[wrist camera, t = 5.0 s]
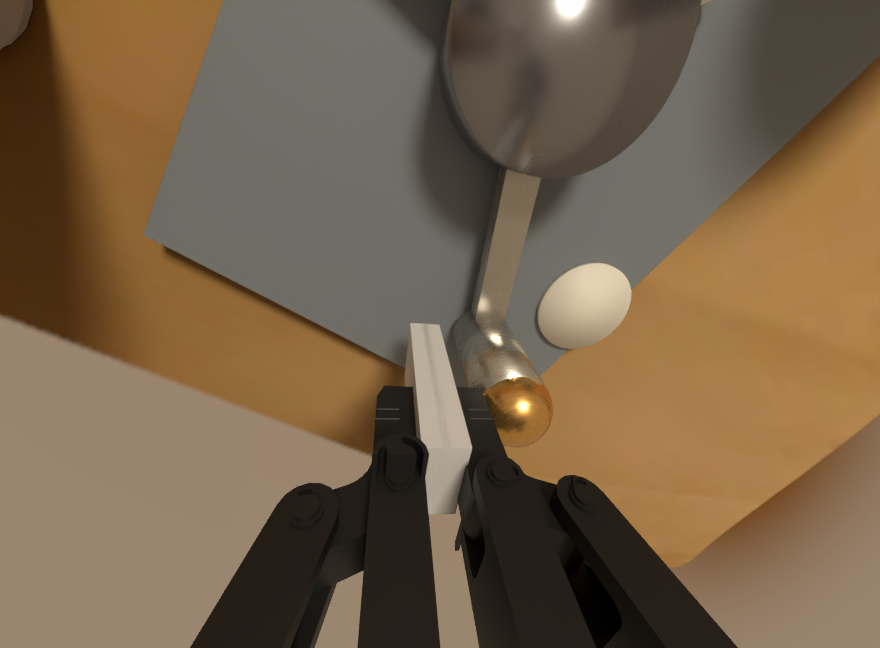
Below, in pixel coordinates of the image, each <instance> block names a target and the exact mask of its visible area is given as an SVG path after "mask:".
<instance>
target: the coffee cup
mask: <svg viewBox="0 0 880 648" xmlns="http://www.w3.org/2000/svg"><path fill="white" fill-rule="evenodd" d="M32 9H33V0H0V50H1V49H2V48H3V47H4V46H7V45H10V44H12V43H13V42H14V41H15V40H16V39H17V38H18V37H19V36H20V35H21V34H22V33H23V31H24V30H25V29H26V27H27V24H28V21H29V18H30V15H31V12H32Z"/></svg>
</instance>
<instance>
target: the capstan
mask: <svg viewBox="0 0 880 648" xmlns="http://www.w3.org/2000/svg"><path fill="white" fill-rule="evenodd" d="M709 1H711V0H450V3H449V5H448V8H447V12H446V16H445V19H444V23H443V27H442V34H441V41H440V54H439V69H440V81H441V88H442V94H443V98H444V101H445V105H446V108H447V111H448V114H449V116H450V119H451V121H452V123H453V125H454V127H455V129H456V130H457V132H458V134H459V135H460V137H461V138H462V139H463V141H464V142H465V144H466V145H467V146H468V147H469V148H470V149H471V150H472V151H473V152H474V153H475V154H477V155H478V156H479V157H480V158H482V159H483V160H485V161H486V162H488V163H490V164H492V165H494V166H496V167H499V172H498V177H497V183H496V188H495V193H494V198H493V203H492V208H491V213H490V218H489V223H488V228H487V233H486V238H485V243H484V248H483V253H482V258H481V263H480V268H479V274H478V279H477V284H476V289H475V294H474V299H473V304H472V309H471V310H470V311H468V312H466V313H465V314H463V315H462V316H461V317H460V318H459V320H458V321H457V323H456V325H455V327H454V339H455V343H456V347H457V350H458V354H459V357H460V361H461V364H462V368H463V372H464V375H465V379H466V382H467V386H468V387H472V388H477V389H478V390H479V391H480V393H481V394H482V395H483V396H484V397H485V399H486V401H487V404H488V407H489V411H490V412H491V415H492V417H493V418H492V419H493V420H494V423H495V425H496V428H497V431H498V433H499V436H500V439H501V441H502V444H503V445H504V446H507V447H524V446H528V445H531V444H533V443H535V442H536V441H538V440H539V439H540V438H541V437H542V436H543V435H544V434H545V433H546V432H547V430H548V428H549V426H550V424H551V420H552V416H553V405H552V400H551V396H550V394H549V392H548V390H547V388H546V387H545V385H544V383H543V382H542V380H541V378H540V377H539V375H538V373H537V372H536V370H535V368H534V367H533V365H532V363H531V362H530V360H529V358H528V357H527V355H526V353H525V351H524V350H523V348H522V346H521V345H520V343H519V341H518V340H517V338H516V336H515V335H514V333H513V331H512V330H511V328H510V326H509V325H508V323H507V321H506V320H505V316H506V312H507V308H508V304H509V300H510V296H511V293H512V289H513V285H514V281H515V277H516V273H517V269H518V266H519V262H520V258H521V254H522V250H523V246H524V242H525V239H526V235H527V231H528V227H529V223H530V219H531V215H532V212H533V208H534V204H535V200H536V196H537V192H538V189H539V185H540V181H541V178H548V179H558V178H568V177H572V176H576V175H581V174H583V173H586V172H589V171H591V170H594V169H596V168H598V167H600V166H602V165H603V164H605V163H607V162H609V161H610V160H612V159H613V158H615V157H616V156H618V155H619V154H620V153H622V152H623V151H624V150H625V149H626V148H628V147H629V146H630V145H631V144H632V143H633V142H634V141H635V140H636V139H637V138H638V137H639V136H640V135H641V134H642V133H643V132H644V131H645V130H646V129H647V127H648V126H649V125H650V124H651V122H652V121H653V120H654V119H655V117H656V116H657V115H658V113H659V112H660V110H661V109H662V107H663V106H664V104H665V103H666V101H667V100H668V98H669V96H670V94H671V92H672V90H673V89H674V87H675V85H676V83H677V81H678V79H679V77H680V74H681V72H682V70H683V68H684V65H685V63H686V60H687V57H688V54H689V51H690V49H691V46H692V43H693V39H694V35H695V31H696V27H697V23H698V17H699V11H700V6H701V5H703V4H705V3H707V2H709Z"/></svg>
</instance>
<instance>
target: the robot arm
mask: <svg viewBox="0 0 880 648" xmlns="http://www.w3.org/2000/svg"><path fill="white" fill-rule="evenodd" d="M492 418H493V417H492V415H491V412H490V411H489V407H488V404H487V401H486V399H485V397H484V396H483V395H482V394H481V393H480V391H479V390H478V389H477V388H472V387H456V385H455V381H454V378H453V374H452V370H451V366H450V363H449V359H448V355H447V351H446V348H445V344H444V340H443V336H442V333H441V329H440V325H436V324H421V323H410V329H409V339H408V348H407V358H406V367H405V387H401V386H384V387H383V388H382V390H381V391H380V393H379V394H378V396H377V406H376V420H375V435H374V449H373V455H372V463H371V466H370V467H369V469H368V471H367V472H366V473H365V474H364V475H363V476H362V477H361V478H360V479H358V480H357V481H355V482H353V483H351V484H349V485H346V486H343V487H340V488H337V489H334V490H332V489H331V488H330V487H328V486H326V485H324V484H321V483H308V484H304V485H302V486H298V487H296V488H294V489H293V490H292V491H290V492H289V493H287V494H286V495H285V496H284V497H283V498H282V499H281V501H280V502H279V503H278V504H277V506H276V507H275V509H274V510H273V512H272V514H271V516H270V517H269V519H268V520H267V522H266V524H265V525H264V527H263V529H262V530H261V532H260V534H259V535H258V537H257V538H256V540H255V542H254V543H253V545H252V547H251V548H250V550H249V552H248V553H247V555H246V557H245V558H244V560H243V562H242V563H241V565H240V567H239V568H238V570H237V571H236V573H235V575H234V576H233V578H232V580H231V581H230V583H229V585H228V586H227V588H226V590H225V591H224V593H223V594H222V596H221V598H220V599H219V601H218V603H217V604H216V606H215V608H214V609H213V611H212V613H211V615H210V616H209V618H208V619H207V621H206V622H205V624H204V626H203V627H202V629H201V631H200V632H199V634H198V636H197V637H196V639H195V641H194V642H193V644H192V646H191V647H190V648H314V647H315V644H316V641H317V638H318V636H319V633H320V630H321V627H322V624H323V621H324V618H325V615H326V613H327V610H328V607H329V604H330V601H331V598H332V595H333V593H334V589H335V587H336V584H337V582H340V581H342V580H344V579H346V578H348V577H350V576H352V575H355V574H357V573H359V572H361V571H363V570H364V574H363V587H362V599H361V611H360V624H359V637H358V648H440V640H439V628H438V617H437V606H436V595H435V583H434V572H433V561H432V549H431V538H430V526H429V516H428V515H434V514H453V513H454V514H455V513H456V508H457V505H458V504H459V510H460V515H461V523H460V526H459V530H458V533H457V537H456V541H455V551H457V550H459V548H460V545H461V547H462V552H463V558H464V564H465V569H466V575H467V580H468V586H469V591H470V597H471V603H472V609H473V613H474V620H475V626H476V631H477V637H478V643H479V648H738V647H737V646H736V645H735V644H734V643H733V642H732V641H731V639H730V638H729V637H728V636H727V635H726V634H725V632H724V631H723V630H722V629H721V628H720V627H719V626H718V625H717V623H716V622H715V621H714V620H713V619H712V618H711V616H710V615H709V614H708V613H707V612H706V611H705V609H704V608H703V607H702V606H701V605H700V604H699V602H698V601H697V600H696V599H695V598H694V597H693V596H692V594H691V593H690V592H689V591H688V590H687V589H686V587H685V586H684V585H683V584H682V583H681V582H680V581H679V579H678V578H677V577H676V576H675V575H674V574H673V572H672V571H671V570H670V569H669V568H668V567H667V565H666V564H665V563H664V562H663V561H662V560H661V559H660V557H659V556H658V555H657V554H656V553H655V552H654V550H653V549H652V548H651V547H650V546H649V545H648V544H647V542H646V541H645V540H644V539H643V538H642V537H641V535H640V534H639V533H638V532H637V531H636V530H635V529H634V527H633V526H632V525H631V524H630V523H629V522H628V520H627V519H626V518H625V517H624V516H623V515H622V514H621V512H620V511H619V510H618V509H617V508H616V507H615V505H614V504H613V503H612V502H611V501H610V500H609V499H608V497H607V496H606V495H605V494H604V493H603V492H602V491H601V490H600V489H599V488H598V487H597V486H596V485H595V484H594V483H592V482H590V481H589V480H587V479H585V478H583V477H579V476H575V475H568V476H564V477H563V478H561V479H560V480H559V481H558V483H557V485H556V484H552V483H548V482H545V481H541V480H538V479H534V478H532V477H529V476H527V475H525V474H524V473H523V471H522V470H521V468H520V466H519V465H517V464H516V463H515V462H514V461H513V460H512V459H510V458H508V457H507V455H506V452H505V449H504V447H503V444H502V441H501V439H500V436H499V433H498V431H497V428H496V425H495V423H494V420H493V419H492Z"/></svg>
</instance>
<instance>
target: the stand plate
mask: <svg viewBox="0 0 880 648" xmlns="http://www.w3.org/2000/svg"><path fill="white" fill-rule="evenodd" d="M449 3H450V0H223V3H222V6H221V9H220V12H219V15H218V18H217V21H216V24H215V27H214V30H213V33H212V35H211V38H210V41H209V44H208V47H207V50H206V53H205V56H204V59H203V62H202V65H201V68H200V71H199V74H198V77H197V79H196V82H195V85H194V88H193V91H192V94H191V97H190V100H189V103H188V106H187V109H186V112H185V115H184V118H183V121H182V123H181V126H180V129H179V132H178V135H177V138H176V141H175V144H174V147H173V150H172V153H171V156H170V159H169V162H168V165H167V167H166V170H165V173H164V176H163V179H162V182H161V185H160V188H159V191H158V194H157V197H156V200H155V203H154V206H153V208H152V211H151V214H150V217H149V220H148V223H147V226H146V229H145V232H144V236H146V237H148V238H150V239H152V240H154V241H156V242H158V243H160V244H162V245H164V246H166V247H168V248H170V249H172V250H174V251H176V252H177V253H179V254H181V255H183V256H185V257H187V258H189V259H191V260H193V261H195V262H197V263H199V264H201V265H203V266H205V267H207V268H209V269H211V270H213V271H215V272H217V273H219V274H221V275H223V276H224V277H226V278H228V279H230V280H232V281H234V282H236V283H238V284H240V285H242V286H244V287H246V288H248V289H250V290H252V291H254V292H256V293H258V294H260V295H262V296H264V297H266V298H268V299H270V300H271V301H273V302H275V303H277V304H279V305H281V306H283V307H285V308H287V309H289V310H291V311H293V312H295V313H297V314H299V315H301V316H303V317H305V318H307V319H309V320H311V321H313V322H315V323H317V324H318V325H320V326H322V327H324V328H326V329H328V330H330V331H332V332H334V333H336V334H338V335H340V336H342V337H344V338H346V339H348V340H350V341H352V342H354V343H356V344H358V345H360V346H362V347H364V348H366V349H367V350H369V351H371V352H373V353H375V354H377V355H379V356H381V357H383V358H385V359H387V360H389V361H391V362H393V363H395V364H397V365H399V366H401V367H403V368H405V367H406V358H407V348H408V339H409V329H410V323H421V324H436V325H440V329H441V333H442V336H443V340H444V344H445V348H446V351H447V355H448V359H449V363H450V366H451V370H452V374H453V378H454V381H455V385H456V387H468V386H467V382H466V379H465V375H464V372H463V368H462V364H461V361H460V357H459V354H458V350H457V347H456V343H455V339H454V327H455V325H456V323H457V321H458V320H459V318H460V317H461V316H462V315H463V314H465V313H466V312H468V311H470V310H471V309H472V304H473V299H474V294H475V289H476V284H477V279H478V274H479V268H480V263H481V258H482V253H483V248H484V243H485V238H486V233H487V228H488V223H489V218H490V213H491V208H492V203H493V198H494V193H495V188H496V183H497V177H498V172H499V167H496V166H494V165H492V164H490V163H488V162H486V161H485V160H483V159H482V158H480V157H479V156H478V155H477V154H475V153H474V152H473V151H472V150H471V149H470V148H469V147H468V146H467V145H466V144H465V142H464V141H463V139H462V138H461V137H460V135H459V134H458V132H457V130H456V129H455V127H454V125H453V123H452V121H451V119H450V116H449V114H448V111H447V108H446V105H445V101H444V98H443V94H442V88H441V81H440V69H439V54H440V41H441V34H442V27H443V23H444V19H445V16H446V12H447V8H448V5H449ZM879 56H880V0H711V1H709V2H707V3H705V4H703V5H701V6H700V11H699V17H698V23H697V27H696V31H695V35H694V39H693V43H692V46H691V49H690V51H689V54H688V57H687V60H686V63H685V65H684V68H683V70H682V72H681V74H680V77H679V79H678V81H677V83H676V85H675V87H674V89H673V90H672V92H671V94H670V96H669V98H668V100H667V101H666V103H665V104H664V106H663V107H662V109H661V110H660V112H659V113H658V115H657V116H656V117H655V119H654V120H653V121H652V122H651V124H650V125H649V126H648V127H647V129H646V130H645V131H644V132H643V133H642V134H641V135H640V136H639V137H638V138H637V139H636V140H635V141H634V142H633V143H632V144H631V145H630V146H629V147H628V148H626V149H625V150H624V151H623V152H622V153H620V154H619V155H618V156H616V157H615V158H613V159H612V160H610V161H609V162H607V163H605V164H603V165H602V166H600V167H598V168H596V169H594V170H591V171H589V172H586V173H583V174H581V175H576V176H572V177H568V178H558V179H548V178H541V181H540V185H539V189H538V192H537V196H536V200H535V204H534V208H533V212H532V215H531V219H530V223H529V227H528V231H527V235H526V239H525V242H524V246H523V250H522V254H521V258H520V262H519V266H518V269H517V273H516V277H515V281H514V285H513V289H512V293H511V296H510V300H509V304H508V308H507V312H506V316H505V320H506V321H507V323H508V325H509V326H510V328H511V330H512V331H513V333H514V335H515V336H516V338H517V340H518V341H519V343H520V345H521V346H522V348H523V350H524V351H525V353H526V355H527V357H528V358H529V360H530V362H531V363H532V365H533V367H534V368H535V370H536V372H537V373H538V375H539V377H540V376H541V375H542V374H543V373H544V372H545V371H546V370H547V369H548V368H549V367H550V366H551V365H552V364H553V363H554V362H555V361H556V360H558V359H559V358H560V357H561V356H562V355H563V354H564V353H565V352H566V351H567V350H568V349H576V348H582V347H587V346H589V345H592V344H595V343H597V342H599V341H600V340H602V339H604V338H605V337H607V336H608V335H609V334H610V333H612V332H613V331H614V330H615V329H616V328H617V327H618V325H619V324H620V323H621V322H622V320H623V319H624V317H625V315H626V313H627V311H628V309H629V306H630V302H631V290H632V289H633V288H634V287H635V286H636V285H637V284H638V283H639V282H640V281H641V280H642V279H643V278H644V277H646V276H647V275H648V274H649V273H650V272H651V271H652V270H653V269H654V268H655V267H656V266H657V265H658V264H659V263H660V262H661V261H663V260H664V259H665V258H666V257H667V256H668V255H669V254H670V253H671V252H672V251H673V250H674V249H675V248H676V247H677V246H678V245H679V244H681V243H682V242H683V241H684V240H685V239H686V238H687V237H688V236H689V235H690V234H691V233H692V232H693V231H694V230H695V229H696V228H698V227H699V226H700V225H701V224H702V223H703V222H704V221H705V220H706V219H707V218H708V217H709V216H710V215H711V214H712V213H713V212H714V211H716V210H717V209H718V208H719V207H720V206H721V205H722V204H723V203H724V202H725V201H726V200H727V199H728V198H729V197H730V196H731V195H732V194H734V193H735V192H736V191H737V190H738V189H739V188H740V187H741V186H742V185H743V184H744V183H745V182H746V181H747V180H748V179H749V178H751V177H752V176H753V175H754V174H755V173H756V172H757V171H758V170H759V169H760V168H761V167H762V166H763V165H764V164H765V163H766V162H767V161H769V160H770V159H771V158H772V157H773V156H774V155H775V154H776V153H777V152H778V151H779V150H780V149H781V148H782V147H783V146H784V145H786V144H787V143H788V142H789V141H790V140H791V139H792V138H793V137H794V136H795V135H796V134H797V133H798V132H799V131H800V130H801V129H802V128H804V127H805V126H806V125H807V124H808V123H809V122H810V121H811V120H812V119H813V118H814V117H815V116H816V115H817V114H818V113H819V112H821V111H822V110H823V109H824V108H825V107H826V106H827V105H828V104H829V103H830V102H831V101H832V100H833V99H834V98H835V97H836V96H837V95H839V94H840V93H841V92H842V91H843V90H844V89H845V88H846V87H847V86H848V85H849V84H850V83H851V82H852V81H853V80H854V79H856V78H857V77H858V76H859V75H860V74H861V73H862V72H863V71H864V70H865V69H866V68H867V67H868V66H869V65H870V64H871V63H872V62H874V61H875V60H876V59H877V58H878V57H879Z"/></svg>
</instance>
